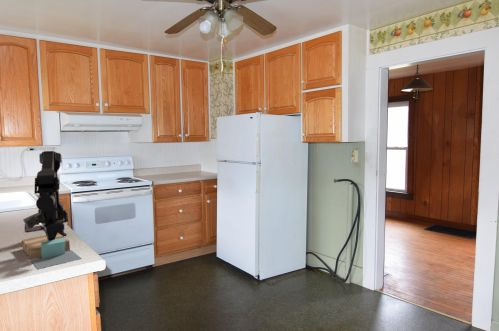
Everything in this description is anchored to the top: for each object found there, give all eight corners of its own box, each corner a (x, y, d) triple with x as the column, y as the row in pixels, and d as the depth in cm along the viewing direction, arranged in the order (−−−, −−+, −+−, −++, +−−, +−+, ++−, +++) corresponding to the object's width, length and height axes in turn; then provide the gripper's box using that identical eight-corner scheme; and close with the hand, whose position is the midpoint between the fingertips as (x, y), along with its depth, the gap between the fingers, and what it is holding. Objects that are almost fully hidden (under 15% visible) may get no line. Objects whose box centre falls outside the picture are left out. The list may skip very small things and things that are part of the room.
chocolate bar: (26, 231, 173) (25, 223, 188) (26, 233, 174) (25, 225, 189) (47, 228, 178) (44, 220, 193) (47, 230, 178) (45, 222, 193)
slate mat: (29, 259, 137) (29, 259, 137) (71, 250, 147) (71, 250, 147) (37, 269, 127) (37, 269, 127) (81, 258, 137) (81, 258, 137)
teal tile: (41, 242, 137) (42, 245, 135) (63, 237, 142) (65, 241, 141) (41, 255, 139) (42, 258, 137) (63, 250, 144) (64, 253, 143)
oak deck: (22, 249, 149) (22, 239, 149) (59, 241, 158) (58, 232, 158) (31, 259, 137) (30, 249, 137) (69, 250, 147) (69, 241, 146)
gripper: (19, 205, 140) (22, 243, 142) (29, 213, 127) (32, 255, 128) (50, 201, 148) (53, 237, 149) (63, 208, 134) (66, 248, 136)
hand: (51, 244), depth 140 cm, fingers closed
